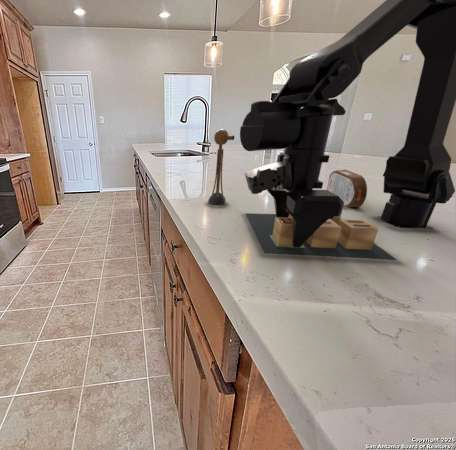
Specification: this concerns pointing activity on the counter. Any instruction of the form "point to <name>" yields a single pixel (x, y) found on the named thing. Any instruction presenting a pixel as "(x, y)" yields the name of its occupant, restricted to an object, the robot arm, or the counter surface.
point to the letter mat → (305, 243)
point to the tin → (348, 187)
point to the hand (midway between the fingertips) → (287, 235)
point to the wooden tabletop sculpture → (219, 167)
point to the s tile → (283, 230)
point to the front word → (344, 235)
